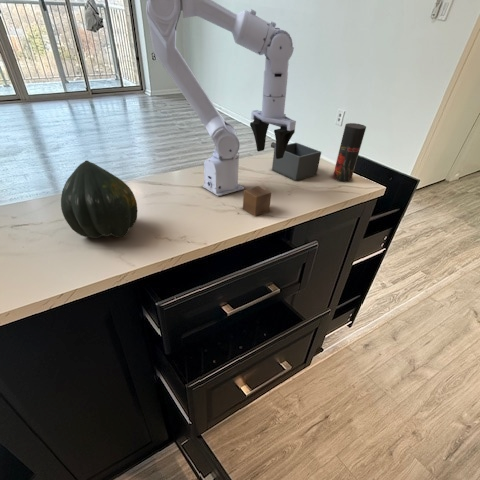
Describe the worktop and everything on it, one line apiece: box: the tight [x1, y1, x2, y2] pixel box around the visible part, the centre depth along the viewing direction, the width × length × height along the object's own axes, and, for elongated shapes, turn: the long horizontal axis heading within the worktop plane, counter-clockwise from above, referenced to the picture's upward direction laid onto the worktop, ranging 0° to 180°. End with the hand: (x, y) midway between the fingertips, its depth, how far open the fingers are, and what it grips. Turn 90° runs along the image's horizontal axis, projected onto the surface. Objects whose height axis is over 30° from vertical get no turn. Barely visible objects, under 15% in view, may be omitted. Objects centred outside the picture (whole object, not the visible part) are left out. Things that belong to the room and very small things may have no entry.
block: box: [242, 185, 272, 217], centre depth 82 cm, size 5×5×5 cm
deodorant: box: [332, 122, 367, 183], centre depth 98 cm, size 6×6×15 cm
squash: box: [60, 159, 139, 239], centre depth 68 cm, size 14×15×15 cm
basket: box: [270, 141, 322, 182], centre depth 104 cm, size 10×17×7 cm, turn 39°
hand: (269, 154), depth 88 cm, fingers open, 7 cm apart
